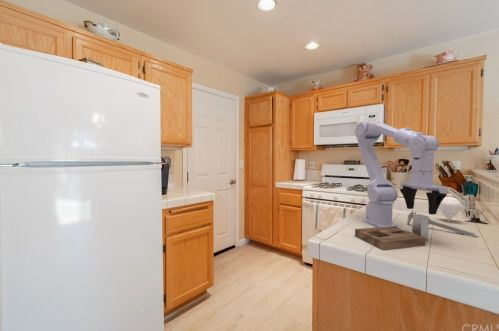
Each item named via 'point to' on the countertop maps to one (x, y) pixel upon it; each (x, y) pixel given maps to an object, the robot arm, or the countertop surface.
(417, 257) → the countertop surface
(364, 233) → the socket block
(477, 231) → the countertop surface
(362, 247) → the countertop surface
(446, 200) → the spinning top
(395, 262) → the countertop surface
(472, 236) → the caliper
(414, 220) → the peg
